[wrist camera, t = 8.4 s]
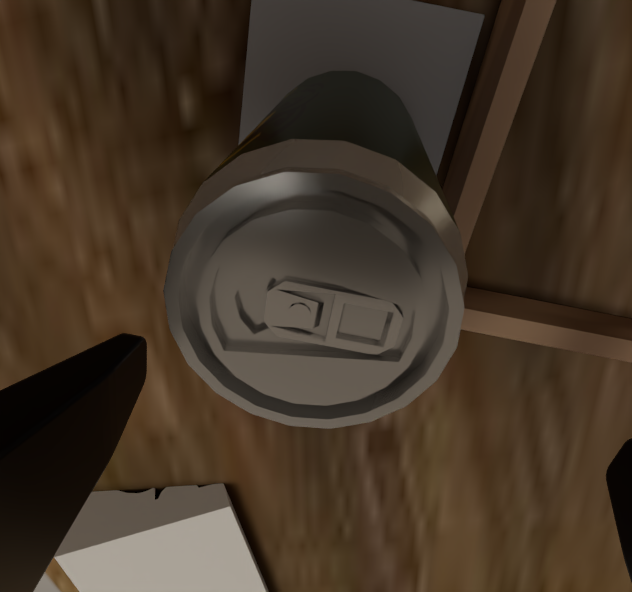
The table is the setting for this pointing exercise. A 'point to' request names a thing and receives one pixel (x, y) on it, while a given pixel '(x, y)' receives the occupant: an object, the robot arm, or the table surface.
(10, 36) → the table surface
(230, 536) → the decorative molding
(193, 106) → the table surface
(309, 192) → the beer can
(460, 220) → the wooden tray
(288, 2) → the grey rubber mat
